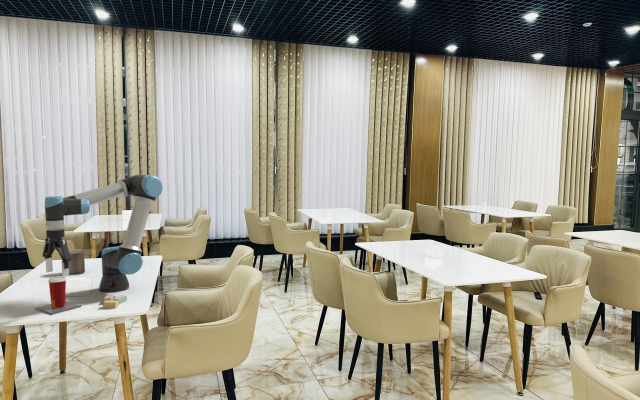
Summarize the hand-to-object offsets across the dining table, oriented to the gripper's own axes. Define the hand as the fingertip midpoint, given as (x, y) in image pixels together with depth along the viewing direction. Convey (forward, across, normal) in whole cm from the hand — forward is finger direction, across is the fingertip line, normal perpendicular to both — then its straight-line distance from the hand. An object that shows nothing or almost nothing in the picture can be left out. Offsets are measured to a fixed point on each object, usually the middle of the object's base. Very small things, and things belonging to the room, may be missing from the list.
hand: (57, 273), depth 223 cm
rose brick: (+17, +11, +19) cm, 28 cm away
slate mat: (+17, 0, 0) cm, 17 cm away
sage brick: (+17, +16, +21) cm, 32 cm away
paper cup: (+16, 0, 0) cm, 16 cm away
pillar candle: (+17, -62, +46) cm, 79 cm away
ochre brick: (+17, +19, +14) cm, 29 cm away
